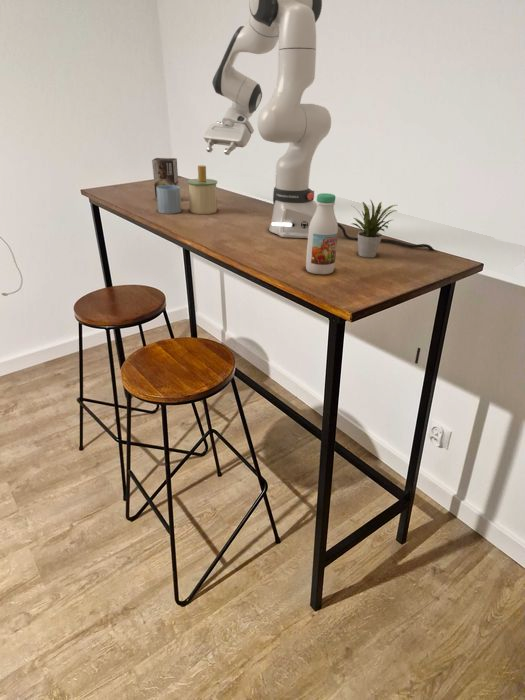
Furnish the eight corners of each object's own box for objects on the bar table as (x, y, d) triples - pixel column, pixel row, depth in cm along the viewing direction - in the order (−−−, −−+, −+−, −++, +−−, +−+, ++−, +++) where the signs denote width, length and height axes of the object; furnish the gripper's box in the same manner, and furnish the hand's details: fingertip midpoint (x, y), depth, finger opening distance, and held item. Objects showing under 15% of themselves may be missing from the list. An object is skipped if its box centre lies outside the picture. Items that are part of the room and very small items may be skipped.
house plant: (404, 256, 142) (414, 200, 134) (378, 266, 133) (387, 207, 125) (365, 245, 151) (372, 192, 143) (338, 254, 142) (344, 198, 134)
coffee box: (179, 197, 206) (177, 158, 198) (176, 201, 200) (173, 160, 192) (159, 196, 207) (156, 157, 199) (154, 200, 201) (151, 159, 193)
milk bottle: (300, 271, 128) (305, 195, 118) (314, 263, 134) (319, 190, 124) (325, 277, 125) (333, 199, 115) (338, 269, 130) (346, 194, 120)
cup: (184, 209, 187) (183, 185, 183) (175, 214, 180) (174, 190, 175) (164, 207, 189) (162, 184, 185) (154, 212, 181) (152, 188, 177)
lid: (221, 183, 185) (221, 164, 182) (211, 188, 175) (211, 169, 172) (194, 181, 187) (193, 163, 184) (182, 186, 178) (181, 167, 174)
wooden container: (220, 209, 189) (219, 181, 184) (211, 214, 181) (210, 186, 176) (195, 206, 192) (194, 179, 186) (186, 212, 183) (184, 184, 178)
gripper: (210, 115, 187) (193, 144, 185) (250, 118, 176) (232, 149, 174) (218, 127, 192) (202, 155, 190) (257, 131, 181) (240, 160, 179)
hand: (217, 152), depth 182 cm, fingers open, 8 cm apart
